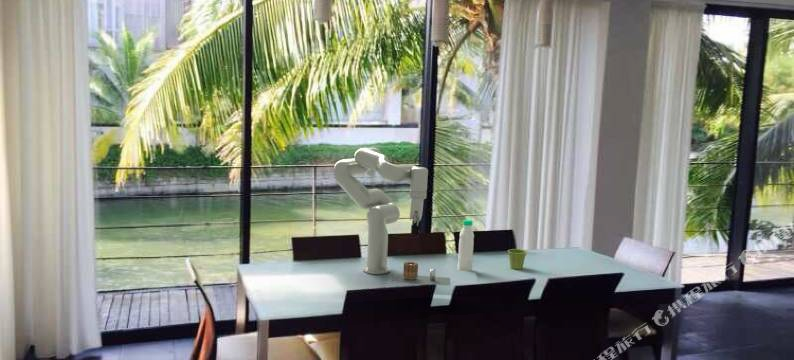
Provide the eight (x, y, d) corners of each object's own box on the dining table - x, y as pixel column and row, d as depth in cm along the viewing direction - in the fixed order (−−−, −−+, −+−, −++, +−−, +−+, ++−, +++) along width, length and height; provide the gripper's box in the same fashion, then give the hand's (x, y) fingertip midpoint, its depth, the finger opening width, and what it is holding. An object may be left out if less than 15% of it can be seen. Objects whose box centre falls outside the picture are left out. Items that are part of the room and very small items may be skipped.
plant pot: (517, 271, 328) (518, 254, 326) (502, 267, 335) (504, 250, 334) (529, 269, 334) (530, 252, 332) (515, 264, 341) (516, 248, 340)
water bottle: (474, 270, 327) (477, 220, 323) (468, 273, 321) (471, 222, 317) (461, 267, 330) (464, 218, 327) (454, 270, 324) (457, 220, 321)
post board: (393, 277, 308) (393, 273, 308) (450, 280, 306) (450, 277, 306) (391, 284, 296) (391, 281, 296) (449, 288, 294) (450, 285, 294)
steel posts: (405, 276, 304) (405, 262, 303) (435, 278, 303) (436, 264, 302) (404, 279, 299) (404, 265, 298) (434, 281, 298) (435, 267, 297)
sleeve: (403, 274, 305) (404, 261, 304) (417, 275, 304) (418, 262, 303) (402, 277, 298) (403, 264, 298) (417, 278, 298) (417, 265, 297)
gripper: (411, 190, 307) (409, 227, 309) (407, 197, 290) (405, 235, 292) (427, 192, 306) (425, 228, 309) (424, 198, 289) (422, 236, 292)
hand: (415, 231), depth 300 cm, fingers open, 9 cm apart
